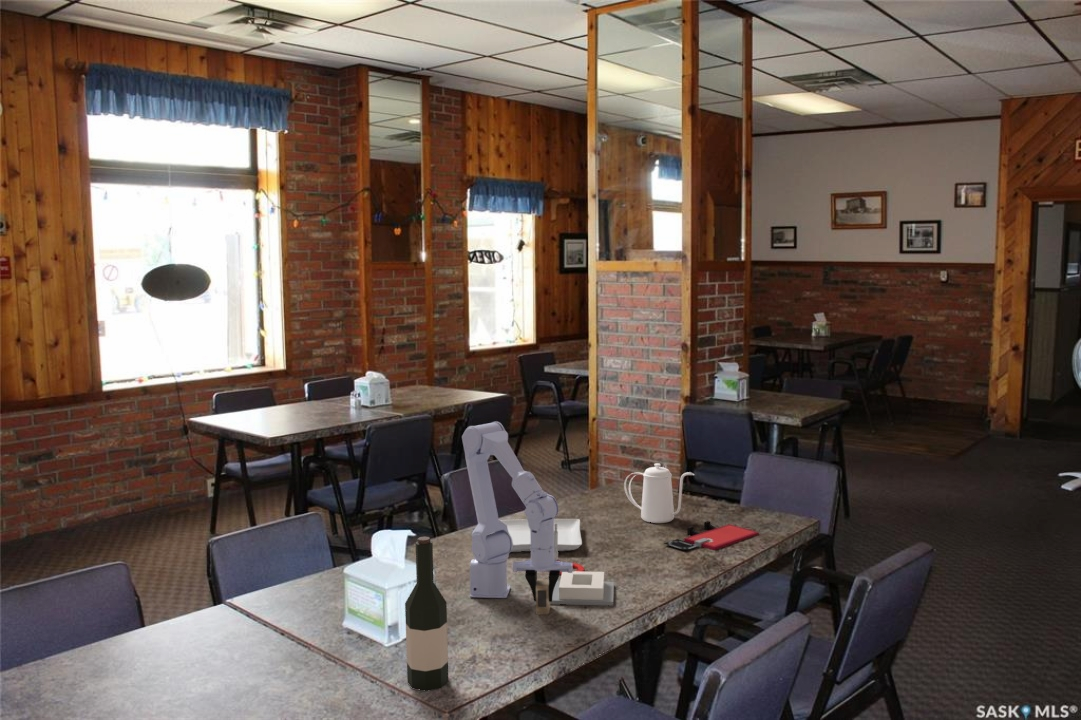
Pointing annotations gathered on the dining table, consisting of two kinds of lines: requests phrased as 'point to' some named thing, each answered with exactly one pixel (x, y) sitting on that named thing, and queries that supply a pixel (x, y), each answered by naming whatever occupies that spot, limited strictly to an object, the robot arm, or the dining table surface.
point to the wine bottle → (426, 625)
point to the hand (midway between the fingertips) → (543, 600)
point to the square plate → (566, 527)
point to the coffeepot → (657, 494)
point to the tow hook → (579, 567)
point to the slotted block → (583, 589)
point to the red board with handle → (713, 537)
